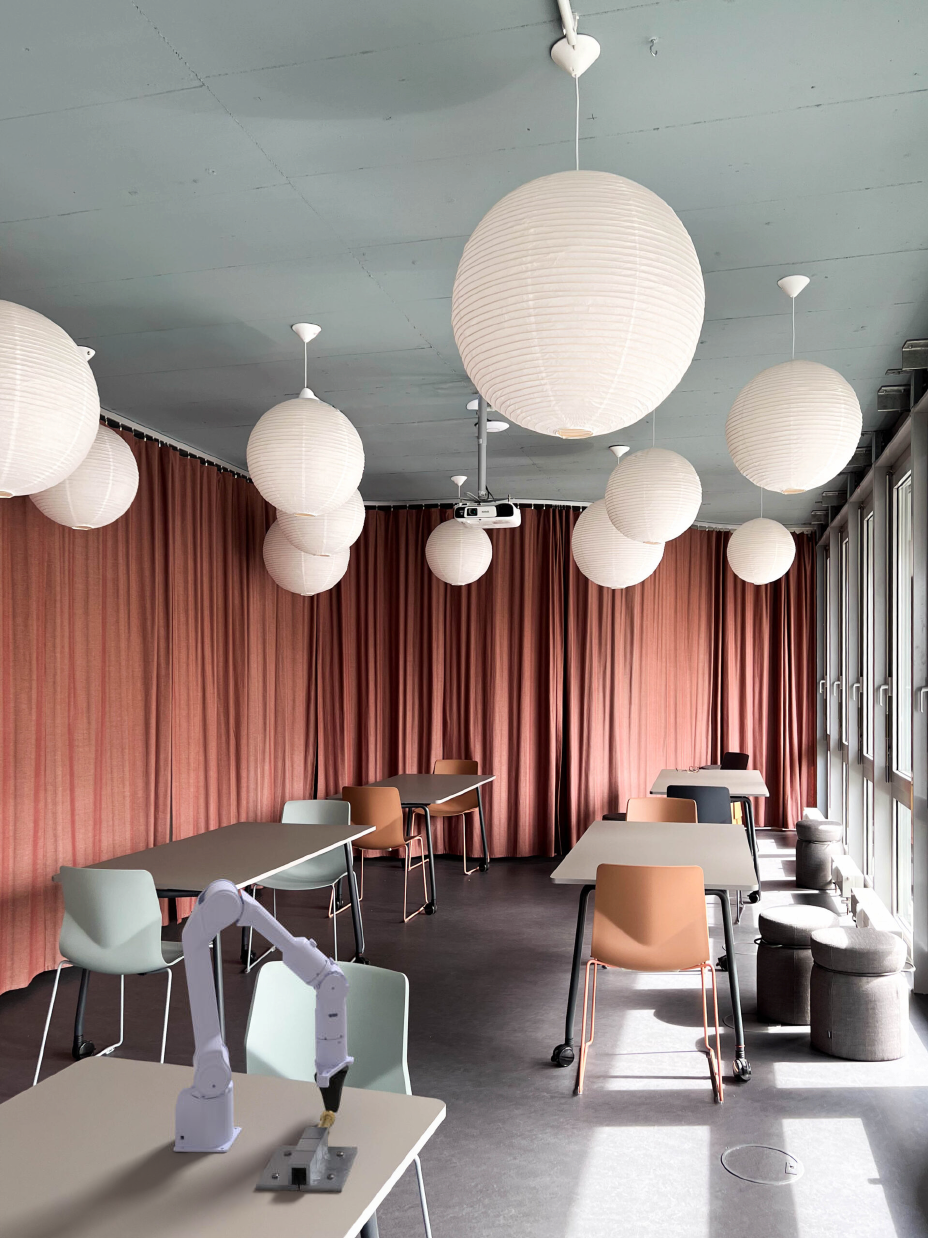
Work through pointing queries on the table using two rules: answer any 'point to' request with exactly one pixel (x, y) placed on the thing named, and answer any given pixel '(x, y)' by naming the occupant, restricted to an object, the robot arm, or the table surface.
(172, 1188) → the table surface
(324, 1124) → the pin
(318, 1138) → the hinge
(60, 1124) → the table surface
